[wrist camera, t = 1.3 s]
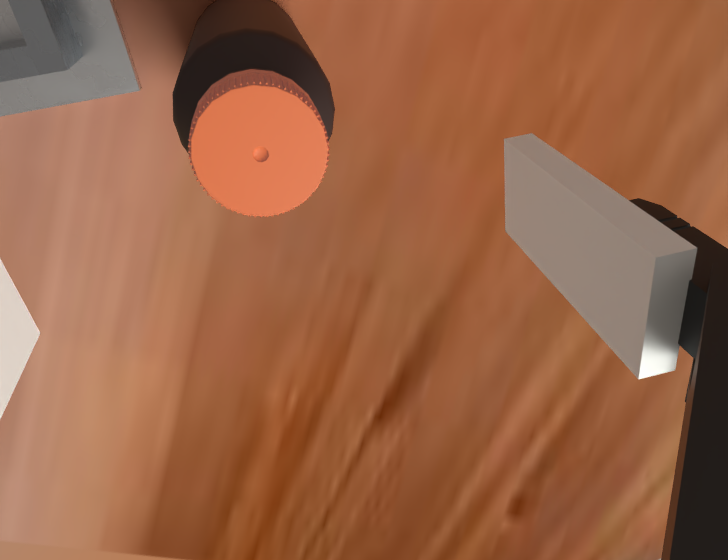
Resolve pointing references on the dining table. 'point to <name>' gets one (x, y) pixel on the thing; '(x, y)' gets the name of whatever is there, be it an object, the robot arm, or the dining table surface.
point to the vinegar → (253, 108)
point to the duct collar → (61, 54)
